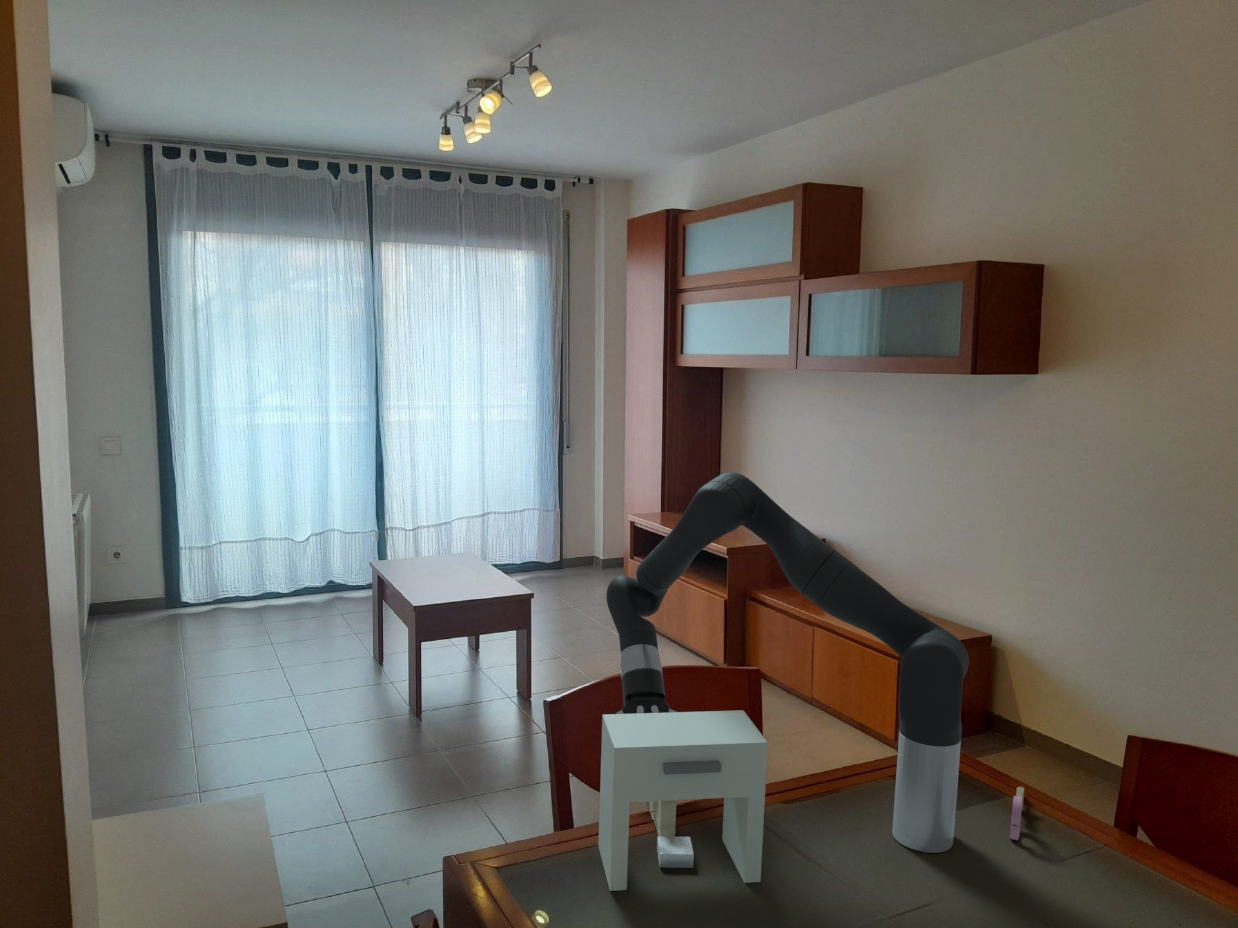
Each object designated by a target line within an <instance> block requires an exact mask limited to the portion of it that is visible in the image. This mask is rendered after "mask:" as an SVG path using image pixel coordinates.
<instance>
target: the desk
mask: <svg viewBox="0 0 1238 928" xmlns="http://www.w3.org/2000/svg"><path fill="white" fill-rule="evenodd" d="M601 721H602V722H601V748H600V749H601V753H600V780H599V781H600V785H599V786H600V787H599V789H600V790H599V813H598V814H599V815H598V816H599V819H598V820H599V821H598V822H599V823H598V850H599V854H600V858H601V863H602V866H603V869H604V873H605V877H606V881H607V885H608V889H609V890H608V891H609V892H611V891H612V892H613V891H616V892H617V891H627V888H628V865H629V864H628V863H629V862H628V858H629V837H630V836H629V832H630V831H629V830H630V829H629V827H630V803H643V802H646V801H668V800H676V801H688V800H708V799H723V817H722V834H721V835H722V839H721V840H722V842H723V844H724V846H725V848H726V849H727V852H728V854H729V856H730V857H731V860H732V862H733V864H734V865H735V867H736V869H737V871H738V873H739V875H740V878H741V879H742V881H743V883H744V884H746V883H761V881H762V880H761V879H762V862H763V861H762V859H763V858H762V857H763V842H764V840H763V838H764V821H765V820H764V819H765V818H764V816H765V803H766V801H765V800H766V780H767V763H768V744H769V743H768V741H767V740H766V738H765V737H764V735H762V733H761V732H760V730H759V729H758V728H757V727H756V726H757V725H755V724H754V722H753V721H752V720H751V719H750V717H749V716H748V715H747V713H746V712H745V711H744V710H740V709H739V710H738V709H737V710H712V711H711V710H708V711H707V710H706V711H682V712H678V711H676V712H671V713H638V714H606V713H605V714H602V717H601Z"/></svg>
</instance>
